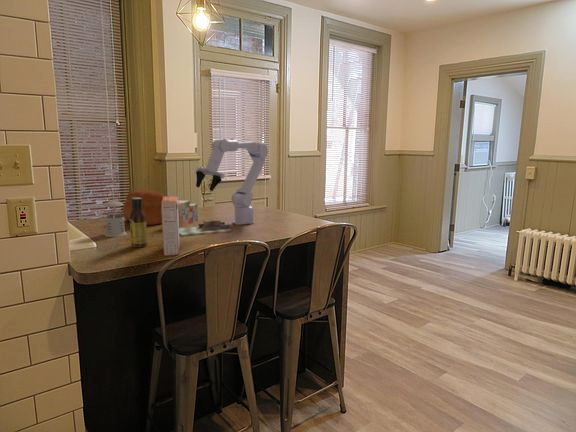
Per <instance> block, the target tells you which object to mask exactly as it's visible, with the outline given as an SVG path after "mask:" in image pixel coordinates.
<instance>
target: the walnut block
mask: <svg viewBox="0 0 576 432" xmlns="http://www.w3.org/2000/svg"><path fill="white" fill-rule="evenodd" d="M221 222H222V221H221V219H218V218H212V219H210V218H209V219H203V224H204V226H214V225H221Z"/></svg>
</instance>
